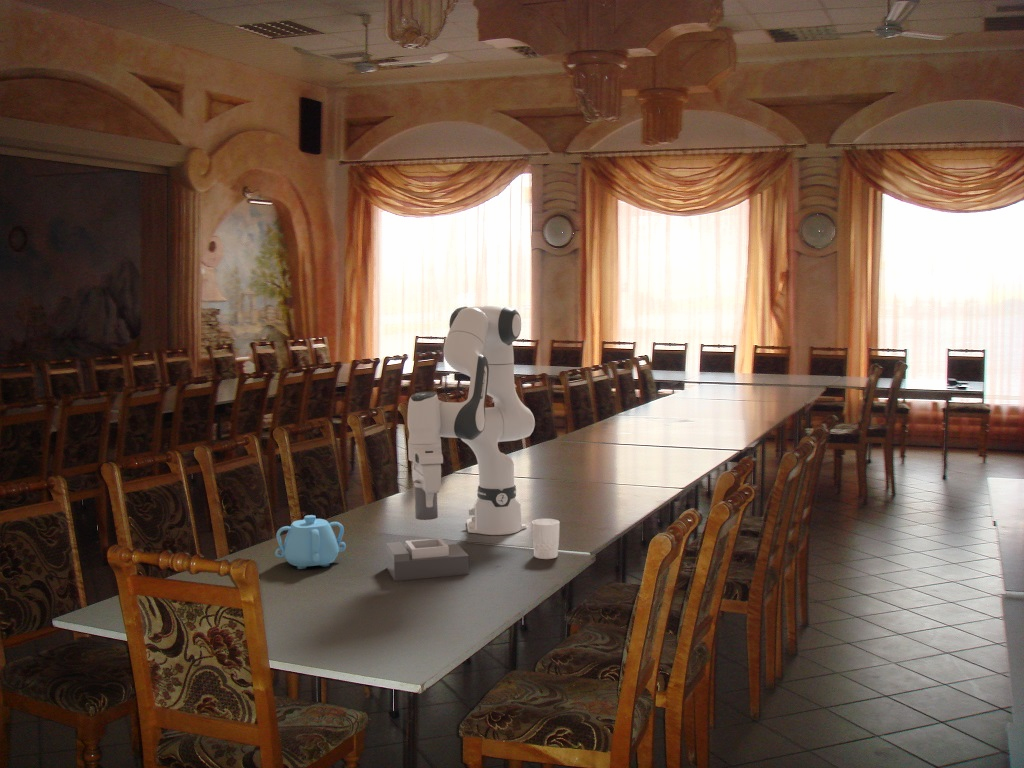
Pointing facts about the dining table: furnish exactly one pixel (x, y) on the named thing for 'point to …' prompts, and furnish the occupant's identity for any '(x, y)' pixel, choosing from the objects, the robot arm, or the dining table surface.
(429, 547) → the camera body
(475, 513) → the robot arm
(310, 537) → the decorative pot
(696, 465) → the dining table surface
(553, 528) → the white cup
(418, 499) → the lens
